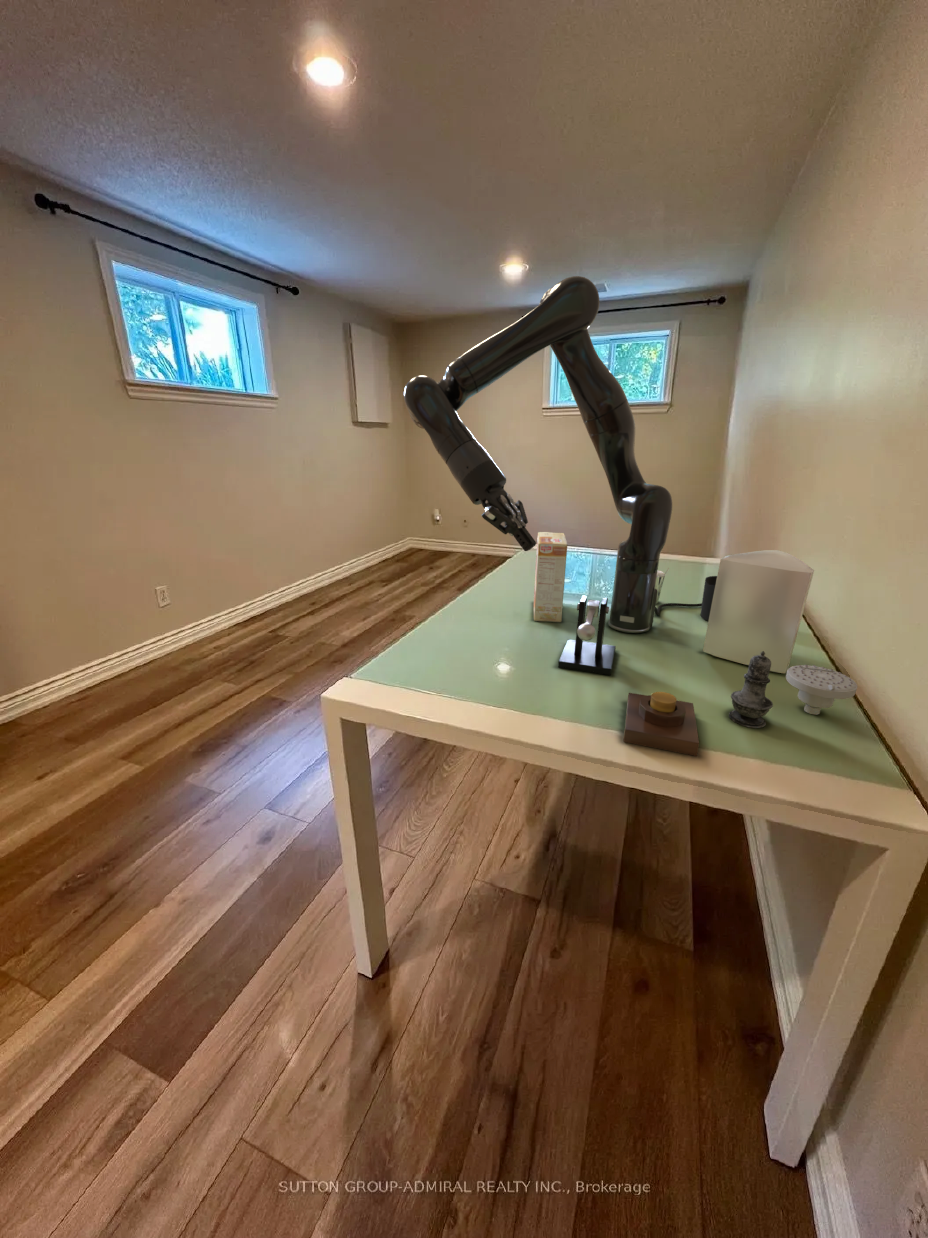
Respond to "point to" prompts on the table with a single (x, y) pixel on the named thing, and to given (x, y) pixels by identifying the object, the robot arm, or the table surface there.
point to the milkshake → (659, 583)
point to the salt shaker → (753, 695)
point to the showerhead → (819, 686)
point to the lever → (589, 621)
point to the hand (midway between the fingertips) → (531, 547)
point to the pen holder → (708, 596)
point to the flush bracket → (589, 646)
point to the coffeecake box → (549, 576)
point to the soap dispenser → (758, 607)
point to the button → (663, 702)
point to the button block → (661, 726)
